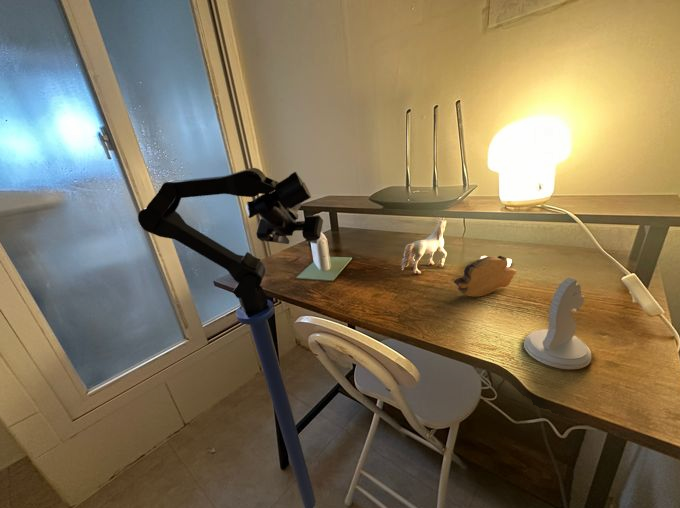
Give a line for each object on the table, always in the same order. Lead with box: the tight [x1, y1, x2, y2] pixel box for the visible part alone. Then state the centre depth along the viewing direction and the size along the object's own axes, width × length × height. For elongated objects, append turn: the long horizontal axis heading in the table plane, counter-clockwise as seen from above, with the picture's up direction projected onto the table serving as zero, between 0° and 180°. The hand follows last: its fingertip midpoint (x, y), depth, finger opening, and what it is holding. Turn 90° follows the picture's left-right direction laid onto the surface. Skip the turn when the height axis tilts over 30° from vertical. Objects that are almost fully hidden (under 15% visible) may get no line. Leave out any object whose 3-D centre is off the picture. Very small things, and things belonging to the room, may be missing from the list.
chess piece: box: [523, 277, 592, 370], centre depth 52 cm, size 10×10×15 cm
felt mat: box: [295, 256, 353, 282], centre depth 103 cm, size 18×13×1 cm
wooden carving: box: [453, 255, 517, 298], centre depth 74 cm, size 16×5×10 cm, turn 110°
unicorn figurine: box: [400, 216, 448, 275], centre depth 90 cm, size 7×20×13 cm, turn 128°
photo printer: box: [310, 231, 331, 271], centre depth 102 cm, size 10×4×12 cm, turn 17°
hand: (302, 242), depth 88 cm, fingers open, 9 cm apart
